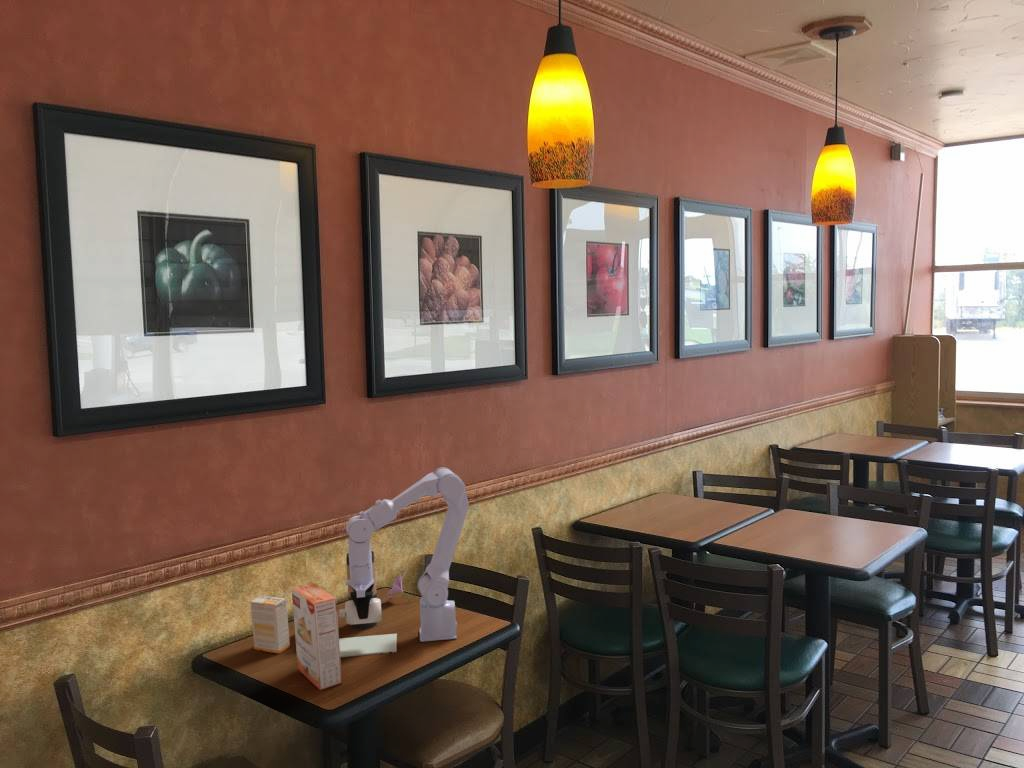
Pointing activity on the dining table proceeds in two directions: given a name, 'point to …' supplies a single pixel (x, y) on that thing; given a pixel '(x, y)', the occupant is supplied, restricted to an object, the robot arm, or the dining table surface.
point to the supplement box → (270, 624)
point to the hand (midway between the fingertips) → (363, 615)
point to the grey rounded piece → (352, 613)
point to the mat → (368, 645)
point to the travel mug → (356, 626)
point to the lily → (397, 587)
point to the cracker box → (317, 635)
